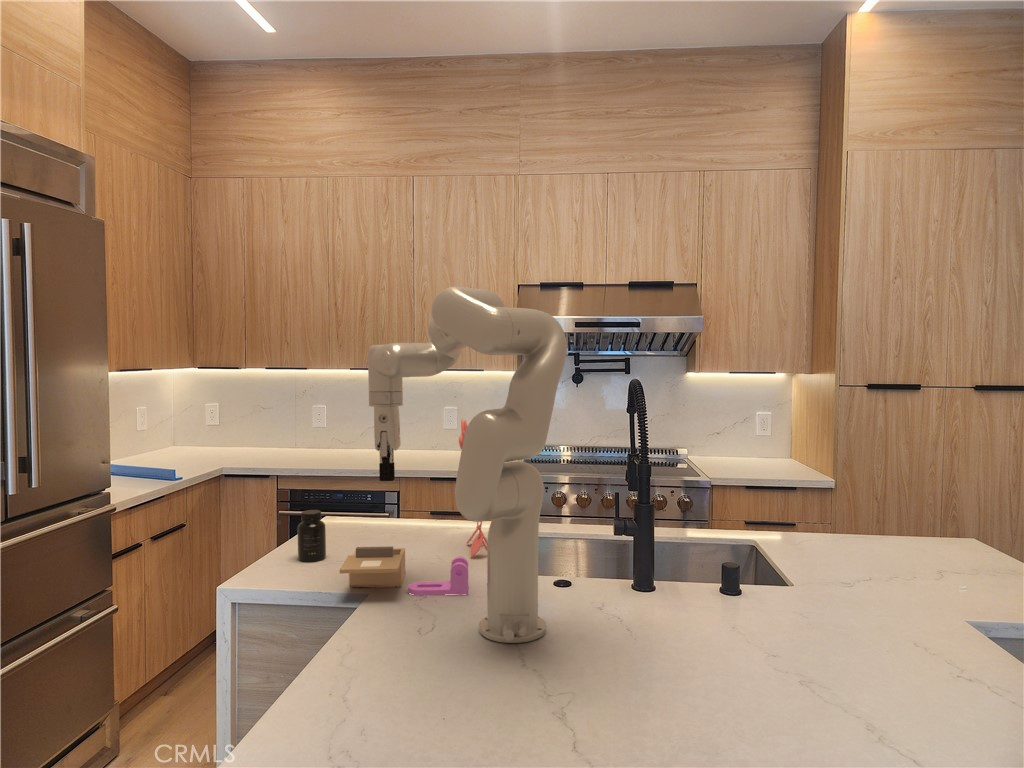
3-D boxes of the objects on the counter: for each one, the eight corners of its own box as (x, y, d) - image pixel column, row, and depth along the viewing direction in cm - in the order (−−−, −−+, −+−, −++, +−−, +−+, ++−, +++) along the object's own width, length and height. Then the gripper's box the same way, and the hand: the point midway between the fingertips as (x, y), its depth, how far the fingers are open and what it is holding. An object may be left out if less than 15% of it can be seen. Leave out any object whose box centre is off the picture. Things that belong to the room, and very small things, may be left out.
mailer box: (401, 586, 152) (401, 560, 152) (349, 588, 152) (349, 561, 151) (405, 573, 162) (405, 548, 162) (356, 574, 161) (356, 549, 161)
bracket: (468, 587, 153) (468, 556, 153) (467, 595, 147) (467, 563, 147) (409, 588, 152) (409, 557, 152) (407, 596, 147) (406, 564, 146)
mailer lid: (397, 572, 143) (397, 559, 143) (339, 573, 142) (339, 560, 142) (402, 558, 153) (402, 545, 153) (348, 559, 152) (348, 546, 152)
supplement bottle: (297, 556, 176) (297, 509, 175) (325, 553, 178) (324, 507, 177) (297, 563, 169) (297, 515, 169) (326, 561, 171) (325, 513, 171)
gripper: (399, 401, 147) (400, 486, 148) (405, 397, 162) (406, 474, 163) (364, 401, 147) (365, 486, 147) (373, 397, 162) (374, 475, 162)
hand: (387, 480), depth 155 cm, fingers closed
